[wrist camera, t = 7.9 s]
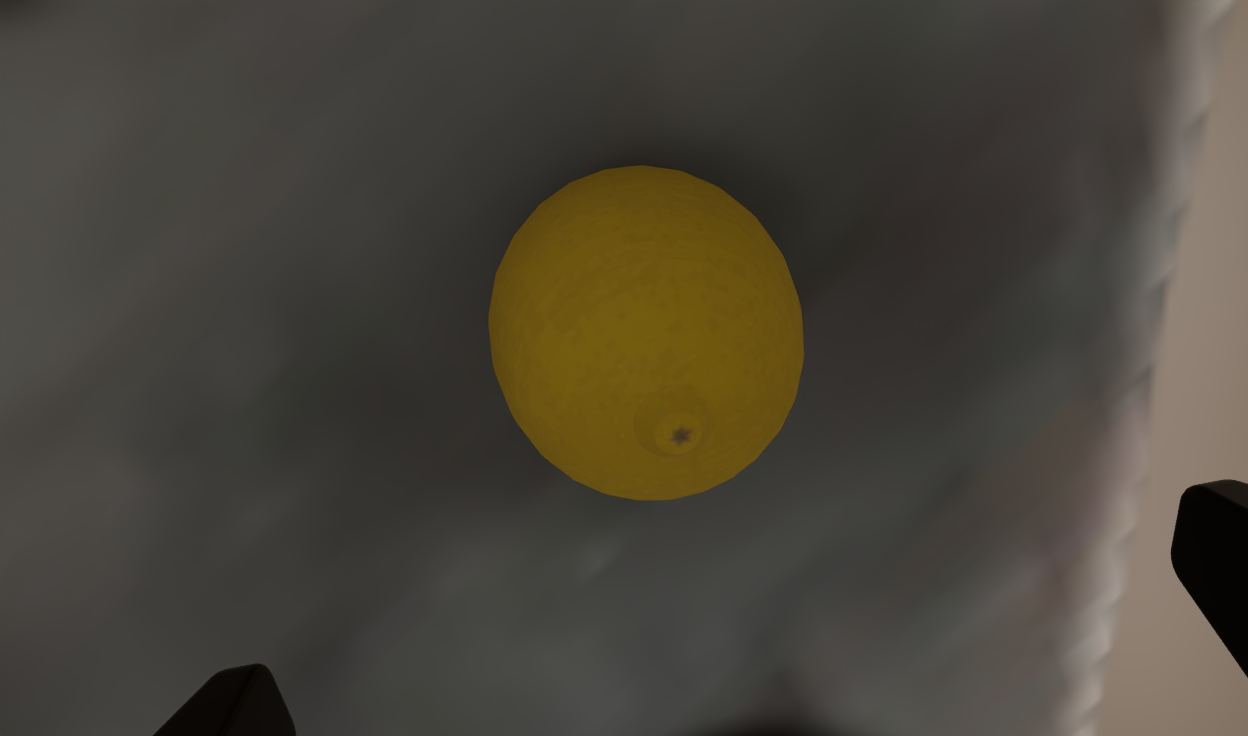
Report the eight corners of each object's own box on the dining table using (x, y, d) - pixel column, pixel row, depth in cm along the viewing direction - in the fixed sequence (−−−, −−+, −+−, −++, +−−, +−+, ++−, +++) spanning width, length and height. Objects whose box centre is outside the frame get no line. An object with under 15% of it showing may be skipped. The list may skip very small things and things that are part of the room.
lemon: (579, 406, 20) (611, 646, 13) (445, 217, 18) (394, 384, 11) (780, 291, 20) (928, 480, 13) (667, 78, 17) (770, 160, 10)
